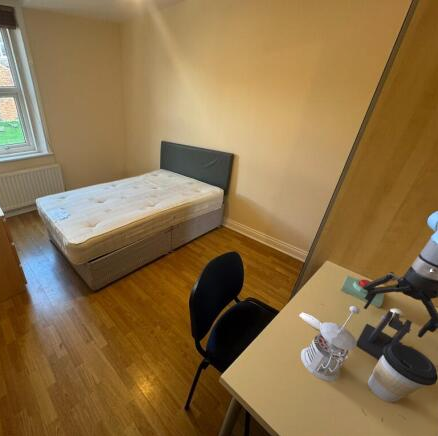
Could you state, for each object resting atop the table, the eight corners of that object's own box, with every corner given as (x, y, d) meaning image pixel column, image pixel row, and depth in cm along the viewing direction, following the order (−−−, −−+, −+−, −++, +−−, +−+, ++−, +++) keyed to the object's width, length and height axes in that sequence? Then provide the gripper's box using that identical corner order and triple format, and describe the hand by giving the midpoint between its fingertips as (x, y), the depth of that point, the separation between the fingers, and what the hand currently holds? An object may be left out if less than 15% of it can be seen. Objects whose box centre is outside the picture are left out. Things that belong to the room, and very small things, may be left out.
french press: (338, 358, 70) (378, 302, 58) (341, 395, 62) (388, 339, 50) (301, 341, 75) (331, 286, 63) (299, 374, 67) (332, 318, 54)
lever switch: (387, 312, 79) (393, 305, 78) (400, 319, 77) (406, 311, 76) (385, 325, 69) (391, 317, 68) (399, 333, 67) (406, 324, 66)
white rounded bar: (322, 335, 77) (325, 329, 76) (297, 318, 83) (300, 313, 81) (326, 330, 79) (329, 324, 77) (301, 313, 84) (304, 308, 83)
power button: (372, 286, 91) (374, 282, 90) (370, 290, 88) (372, 287, 88) (360, 281, 93) (362, 278, 92) (358, 285, 91) (360, 282, 90)
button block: (382, 295, 91) (387, 287, 89) (379, 308, 86) (384, 300, 84) (345, 279, 99) (349, 272, 97) (340, 290, 94) (344, 282, 92)
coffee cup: (359, 392, 63) (387, 361, 55) (360, 364, 69) (385, 333, 61) (407, 420, 57) (445, 391, 50) (404, 387, 63) (438, 357, 56)
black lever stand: (364, 326, 80) (383, 300, 73) (400, 346, 73) (424, 320, 67) (354, 345, 74) (373, 319, 68) (392, 368, 68) (417, 342, 61)
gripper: (370, 257, 74) (343, 302, 85) (499, 307, 57) (445, 356, 68) (376, 248, 78) (350, 292, 89) (499, 293, 61) (447, 341, 72)
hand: (391, 319), depth 78 cm, fingers open, 13 cm apart
